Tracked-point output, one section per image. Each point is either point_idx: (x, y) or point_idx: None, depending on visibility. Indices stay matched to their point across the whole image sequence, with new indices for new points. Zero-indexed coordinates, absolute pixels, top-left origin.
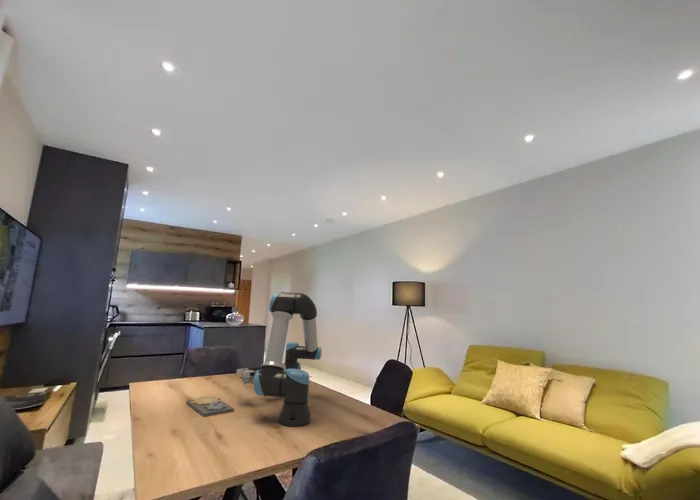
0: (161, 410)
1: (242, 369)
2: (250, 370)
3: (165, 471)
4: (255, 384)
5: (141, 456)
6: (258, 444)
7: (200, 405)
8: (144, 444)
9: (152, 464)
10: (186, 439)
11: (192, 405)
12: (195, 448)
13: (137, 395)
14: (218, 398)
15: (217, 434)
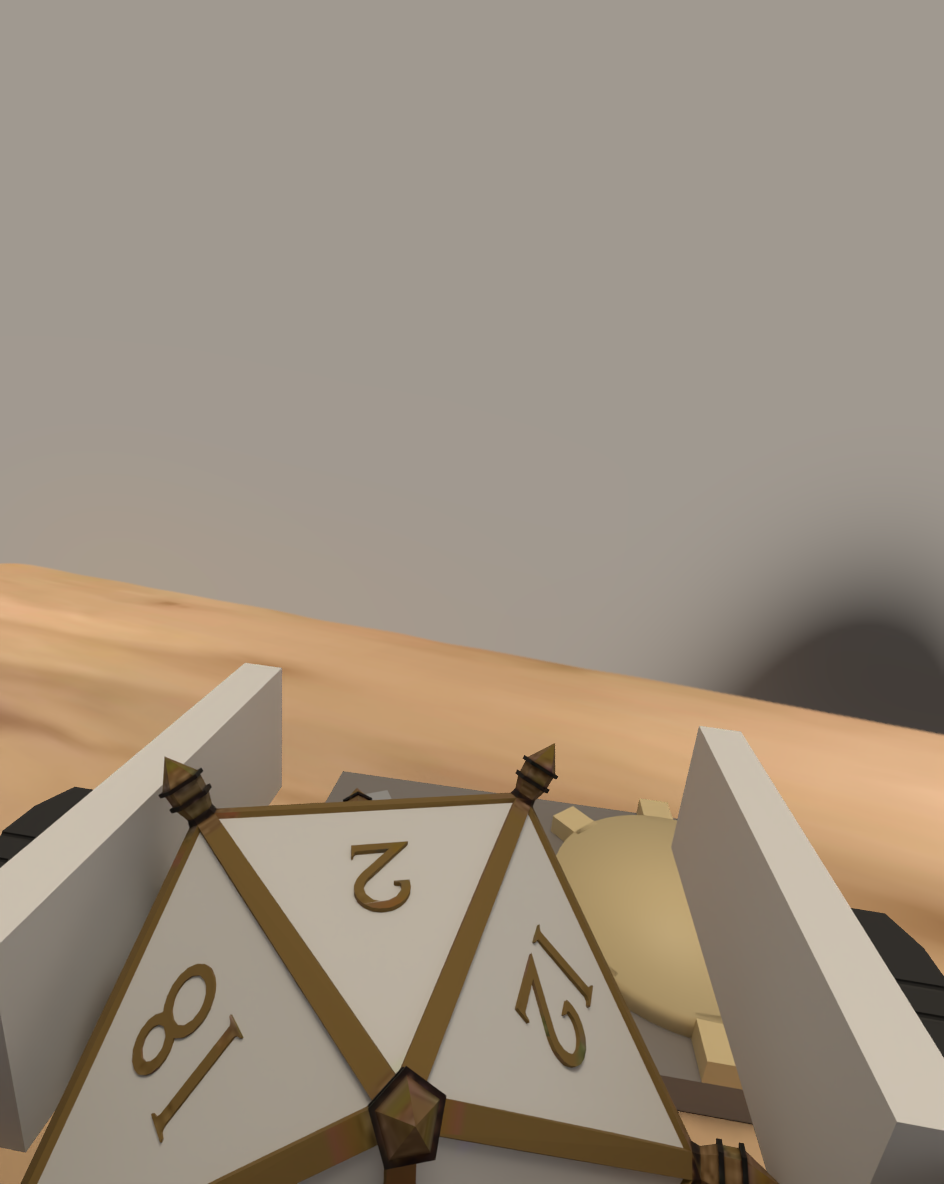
0: (646, 731)
1: (749, 850)
2: (176, 773)
3: (28, 589)
4: None
5: (183, 596)
6: None
7: (553, 826)
8: (258, 615)
9: (104, 592)
10: (143, 658)
11: (614, 812)
12: (33, 644)
13: None
14: (698, 1027)
15: (13, 719)
